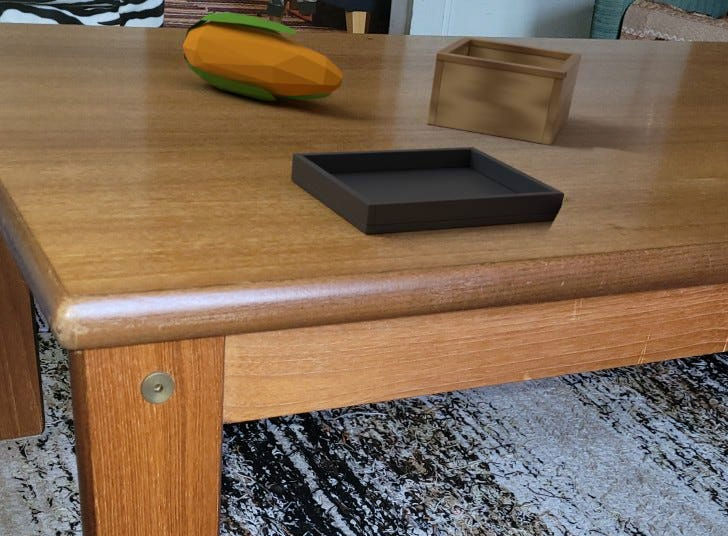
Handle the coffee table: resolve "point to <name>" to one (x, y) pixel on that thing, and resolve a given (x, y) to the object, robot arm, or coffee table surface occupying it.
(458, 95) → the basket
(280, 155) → the coffee table surface
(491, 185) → the tray
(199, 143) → the coffee table surface
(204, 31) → the corn
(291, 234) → the coffee table surface
